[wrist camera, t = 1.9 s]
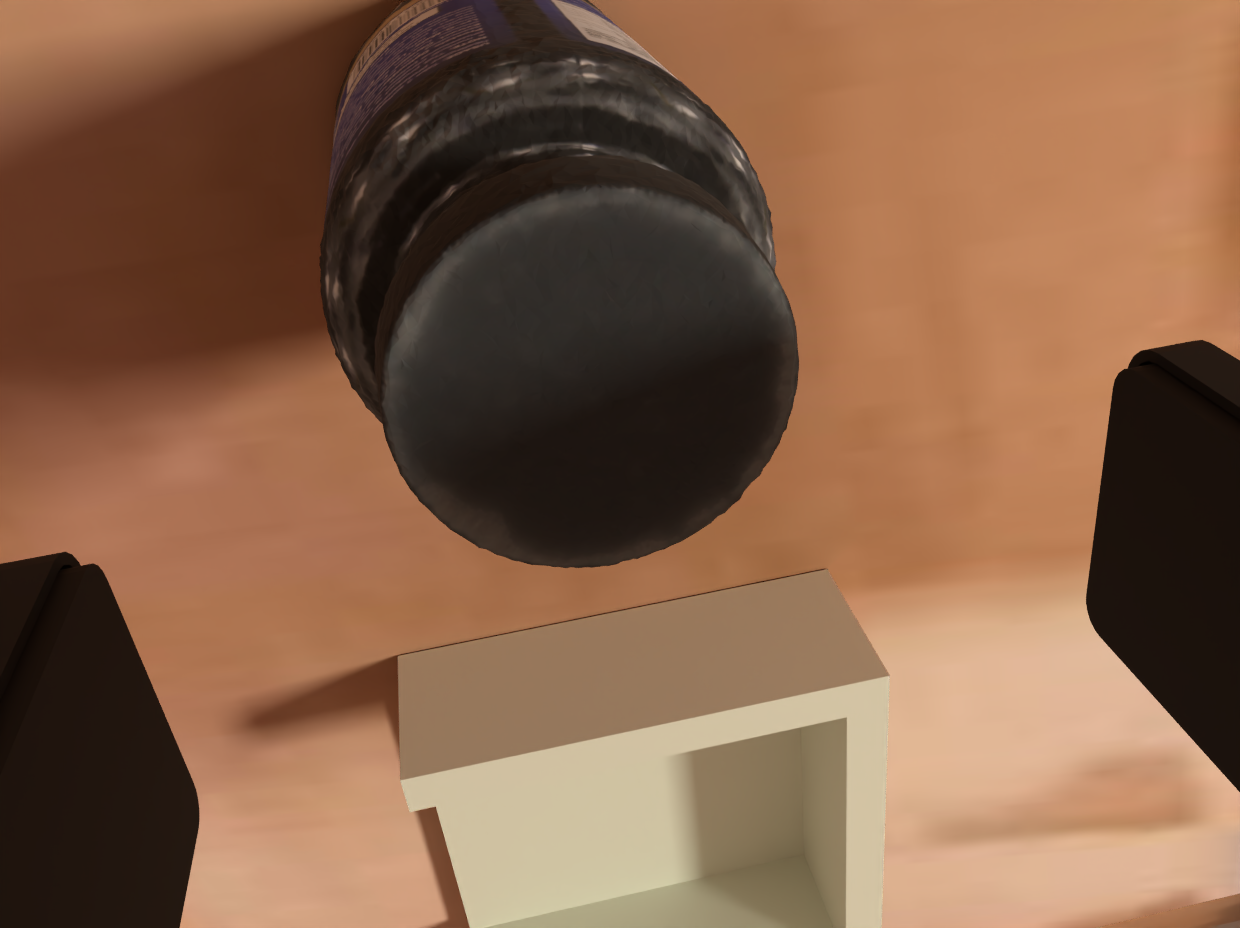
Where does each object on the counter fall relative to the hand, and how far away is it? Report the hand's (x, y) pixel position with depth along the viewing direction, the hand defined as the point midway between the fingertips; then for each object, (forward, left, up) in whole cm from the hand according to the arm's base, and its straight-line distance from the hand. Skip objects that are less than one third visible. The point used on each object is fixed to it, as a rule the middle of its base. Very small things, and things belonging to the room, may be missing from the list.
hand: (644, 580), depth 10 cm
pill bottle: (-1, 0, -14) cm, 14 cm away
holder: (+17, +1, -14) cm, 22 cm away
